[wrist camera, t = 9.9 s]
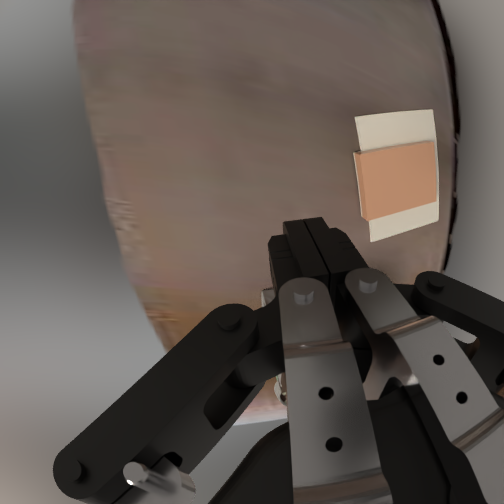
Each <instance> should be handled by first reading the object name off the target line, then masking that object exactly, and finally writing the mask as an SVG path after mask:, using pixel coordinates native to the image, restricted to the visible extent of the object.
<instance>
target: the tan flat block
mask: <svg viewBox="0 0 504 504" xmlns="http://www.w3.org/2000/svg"><path fill="white" fill-rule="evenodd" d="M353 154H354V160H355V167H356V174H357V181H358V188H359V197H360V206H361V215H362V217H363V218H364V219H365V220H367V221H370V220H373V219H377V218H380V217H384V216H387V215H391V214H394V213H398V212H401V211H405V210H408V209H412V208H415V207H419V206H422V205H425V204H429V203H432V202H436V165H435V150H434V142H431V141H427V140H424V141H417V142H410V143H404V144H398V145H392V146H386V147H380V148H374V149H369V150H364V151H359V152H353Z"/></svg>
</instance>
